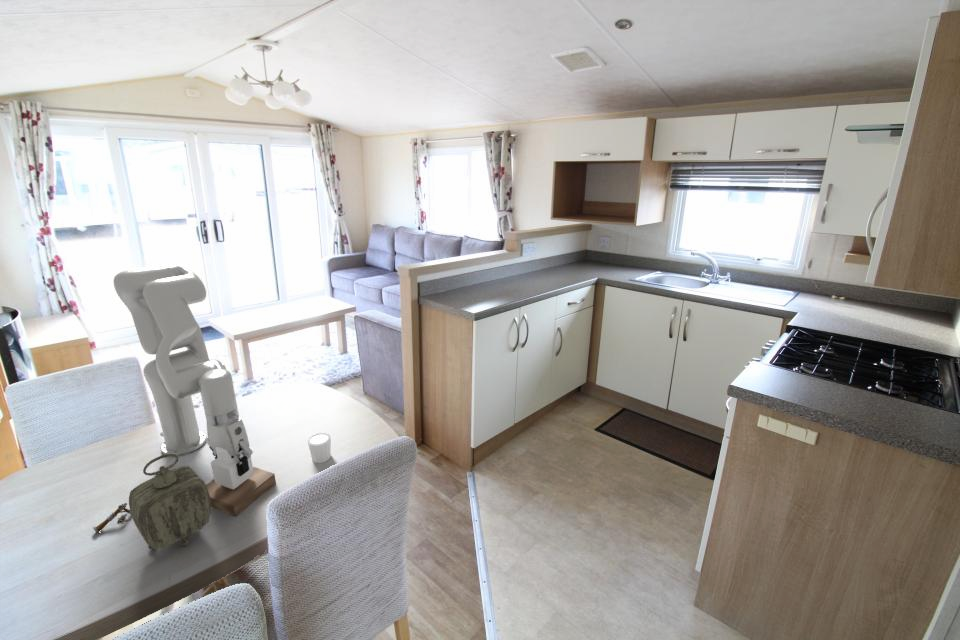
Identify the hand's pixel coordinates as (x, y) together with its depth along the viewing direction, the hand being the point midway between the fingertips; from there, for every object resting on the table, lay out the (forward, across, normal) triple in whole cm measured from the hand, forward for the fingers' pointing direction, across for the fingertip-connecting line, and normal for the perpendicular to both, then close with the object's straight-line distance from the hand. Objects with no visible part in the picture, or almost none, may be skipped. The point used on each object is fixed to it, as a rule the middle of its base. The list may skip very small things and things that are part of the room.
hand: (233, 469), depth 125 cm
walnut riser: (+8, 0, 0) cm, 8 cm away
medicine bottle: (+3, 0, 0) cm, 3 cm away
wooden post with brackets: (+8, +20, +21) cm, 30 cm away
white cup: (+8, -11, -22) cm, 26 cm away
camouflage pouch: (+8, -2, +18) cm, 20 cm away
